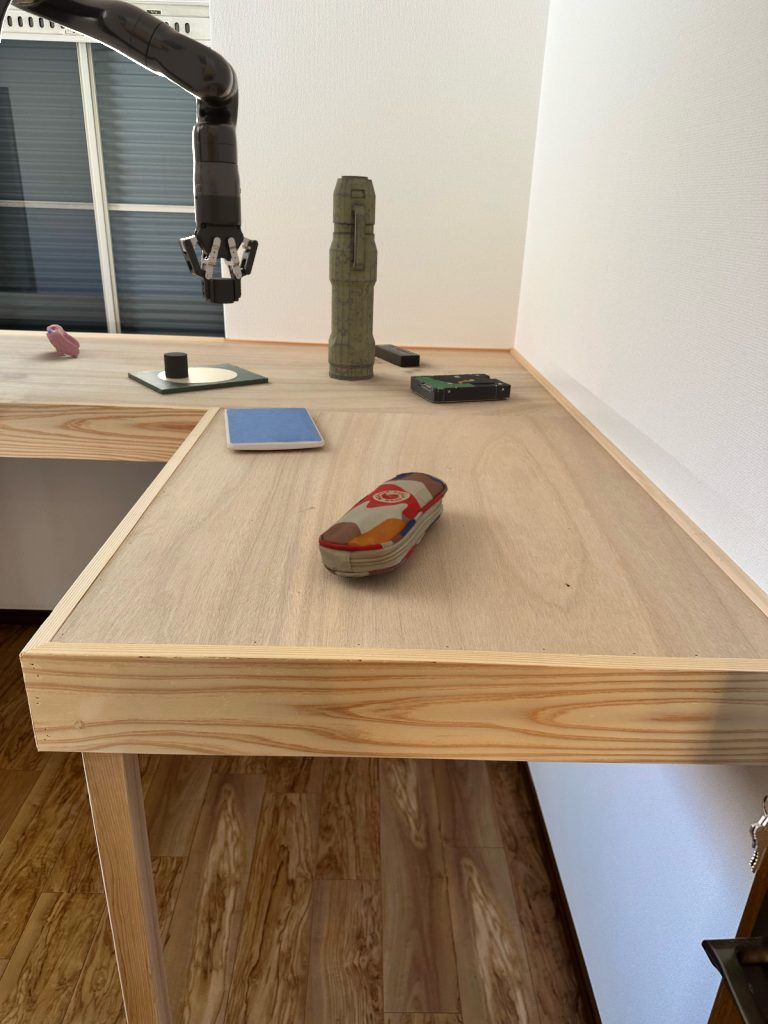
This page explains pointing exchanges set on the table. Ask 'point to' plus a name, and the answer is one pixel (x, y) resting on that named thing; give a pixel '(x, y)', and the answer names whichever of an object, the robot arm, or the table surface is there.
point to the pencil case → (383, 526)
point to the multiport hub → (397, 355)
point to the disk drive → (460, 387)
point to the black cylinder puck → (223, 290)
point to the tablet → (271, 429)
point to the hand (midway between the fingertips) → (222, 301)
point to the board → (198, 378)
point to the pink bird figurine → (62, 341)
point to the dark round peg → (176, 365)
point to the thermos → (352, 279)
